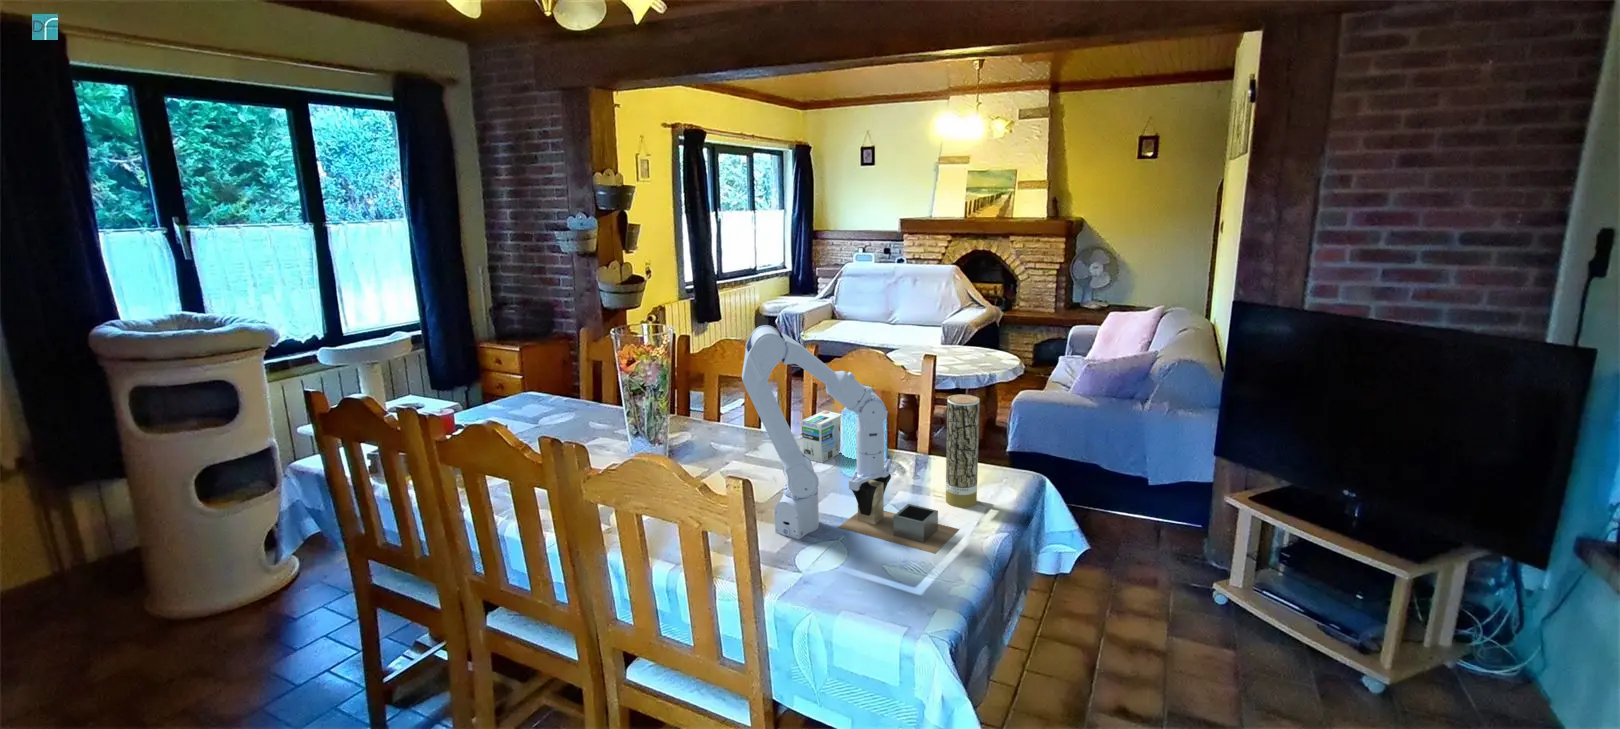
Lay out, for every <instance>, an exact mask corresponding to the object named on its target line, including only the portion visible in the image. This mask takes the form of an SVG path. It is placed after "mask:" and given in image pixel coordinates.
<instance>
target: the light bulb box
mask: <svg viewBox="0 0 1620 729" xmlns="http://www.w3.org/2000/svg"><path fill="white" fill-rule="evenodd" d="M841 414H842V413H839V412H833V411H829V410H822V411H820V412H818V413H815V414H813V415H811V416H809V417H807V418H805V419H802V420H801V429H802V430H801V432H802V453H803V454H804V455H806V456H807V457H808V458H809V459H810V460H811V461H814V462H816V463H819V464H820V463H821V464H822V463H824V462H826V461H828V460H831V459H833V458H835V457H837V456H838V455H840V454H839V451H840V415H841Z"/></svg>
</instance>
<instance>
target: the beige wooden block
mask: <svg viewBox="0 0 1620 729" xmlns="http://www.w3.org/2000/svg"><path fill="white" fill-rule="evenodd" d="M869 483H870V485H872V486H876V487H877V488H876V490H875V493H874V496H873V501H872V510H871V514H870V515H869V516H867V515H863V514H861V513H860V510H859V506H858V505H857V513H858V521H862V522H866V523H870V524H874V525H875V524H876V523H877V522H878V521H880V520H881V519H882V518H883V517H884V511H885V510H884V509H885V508H884V496H883V482H879V481H874V480H870V481H869Z"/></svg>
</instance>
